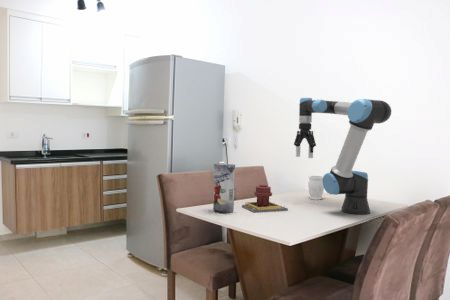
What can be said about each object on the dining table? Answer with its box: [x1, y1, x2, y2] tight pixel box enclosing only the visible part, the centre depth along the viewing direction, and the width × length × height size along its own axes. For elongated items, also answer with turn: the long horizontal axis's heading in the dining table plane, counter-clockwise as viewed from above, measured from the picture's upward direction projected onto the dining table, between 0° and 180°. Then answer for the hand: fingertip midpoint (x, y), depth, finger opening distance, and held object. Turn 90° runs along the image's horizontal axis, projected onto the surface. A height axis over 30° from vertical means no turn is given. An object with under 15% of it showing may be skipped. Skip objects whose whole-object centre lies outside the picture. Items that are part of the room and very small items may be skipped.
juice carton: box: [212, 161, 236, 214], centre depth 200 cm, size 9×10×27 cm
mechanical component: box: [253, 184, 273, 207], centre depth 210 cm, size 12×10×10 cm
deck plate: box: [241, 201, 289, 213], centre depth 211 cm, size 16×21×3 cm
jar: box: [307, 175, 325, 201], centre depth 250 cm, size 11×10×15 cm
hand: (304, 157), depth 230 cm, fingers open, 13 cm apart
